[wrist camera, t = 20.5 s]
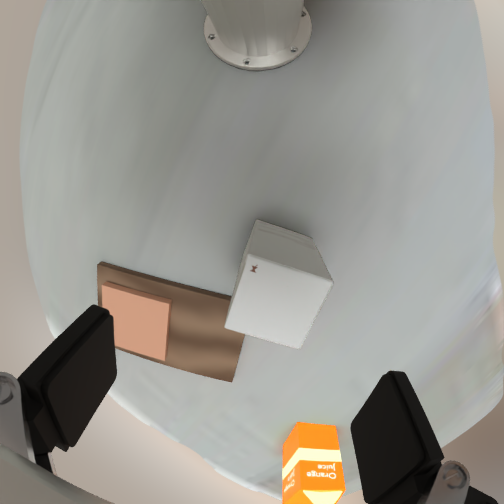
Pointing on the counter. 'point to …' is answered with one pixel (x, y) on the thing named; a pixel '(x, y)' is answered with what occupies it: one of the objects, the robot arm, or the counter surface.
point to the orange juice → (312, 465)
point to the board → (186, 323)
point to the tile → (138, 319)
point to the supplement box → (278, 286)
